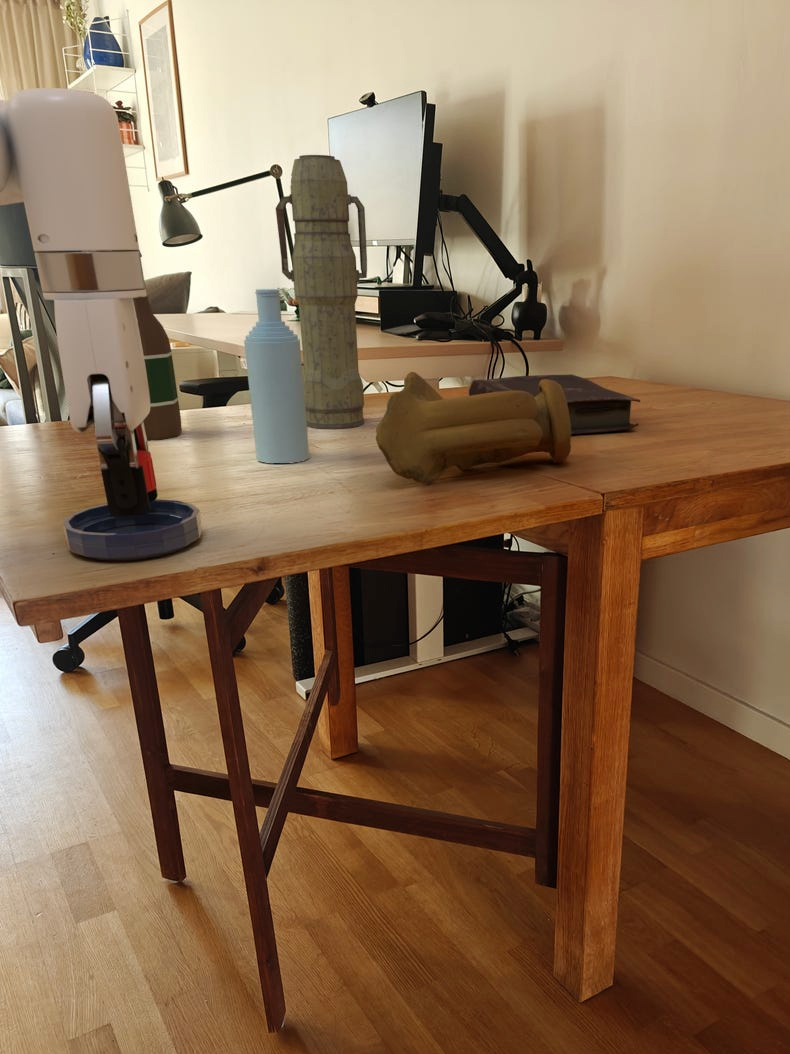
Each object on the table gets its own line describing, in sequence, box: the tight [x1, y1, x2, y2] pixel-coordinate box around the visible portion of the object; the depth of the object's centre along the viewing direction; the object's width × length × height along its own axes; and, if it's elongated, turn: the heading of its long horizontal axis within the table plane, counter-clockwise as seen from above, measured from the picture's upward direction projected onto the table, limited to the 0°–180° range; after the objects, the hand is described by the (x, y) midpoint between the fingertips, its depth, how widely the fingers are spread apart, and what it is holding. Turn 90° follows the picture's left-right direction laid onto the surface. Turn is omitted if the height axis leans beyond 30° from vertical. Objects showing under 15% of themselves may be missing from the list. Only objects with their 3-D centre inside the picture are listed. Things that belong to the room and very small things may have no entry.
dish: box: [61, 498, 203, 562], centre depth 75 cm, size 11×11×2 cm
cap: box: [137, 450, 157, 492], centre depth 73 cm, size 4×4×3 cm
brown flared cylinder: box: [375, 371, 572, 485], centre depth 98 cm, size 18×13×22 cm
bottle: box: [243, 288, 310, 463], centre depth 103 cm, size 6×6×20 cm
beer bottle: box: [119, 249, 183, 441], centre depth 116 cm, size 8×8×24 cm
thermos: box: [275, 154, 368, 430], centre depth 122 cm, size 9×12×35 cm
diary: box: [468, 373, 641, 435], centre depth 130 cm, size 19×25×5 cm
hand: (134, 505), depth 74 cm, fingers closed on cap, 3 cm apart
